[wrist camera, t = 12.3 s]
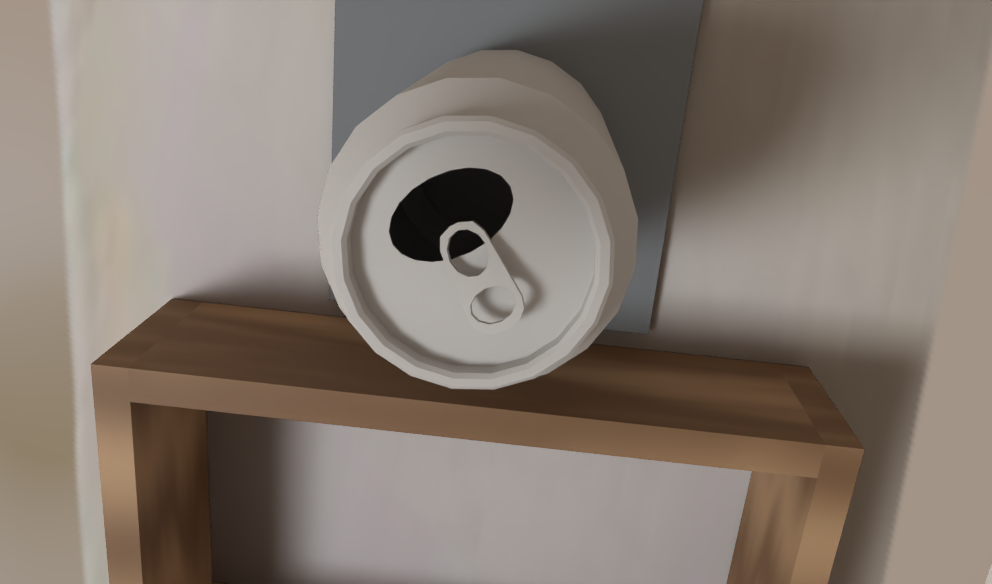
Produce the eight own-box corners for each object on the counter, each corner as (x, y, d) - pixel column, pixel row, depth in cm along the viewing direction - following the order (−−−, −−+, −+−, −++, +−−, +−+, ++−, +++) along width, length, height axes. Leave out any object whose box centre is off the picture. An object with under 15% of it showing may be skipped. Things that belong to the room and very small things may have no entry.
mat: (647, 330, 31) (648, 334, 31) (331, 296, 32) (328, 300, 31) (702, -9, 27) (704, -8, 27) (339, -43, 27) (336, -44, 27)
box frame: (736, 665, 36) (770, 790, 31) (186, 601, 37) (120, 710, 31) (808, 367, 31) (864, 449, 26) (172, 299, 32) (90, 364, 26)
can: (550, 5, 27) (549, 14, 16) (645, 205, 29) (703, 339, 18) (355, 110, 29) (228, 187, 17) (458, 294, 31) (403, 468, 19)
